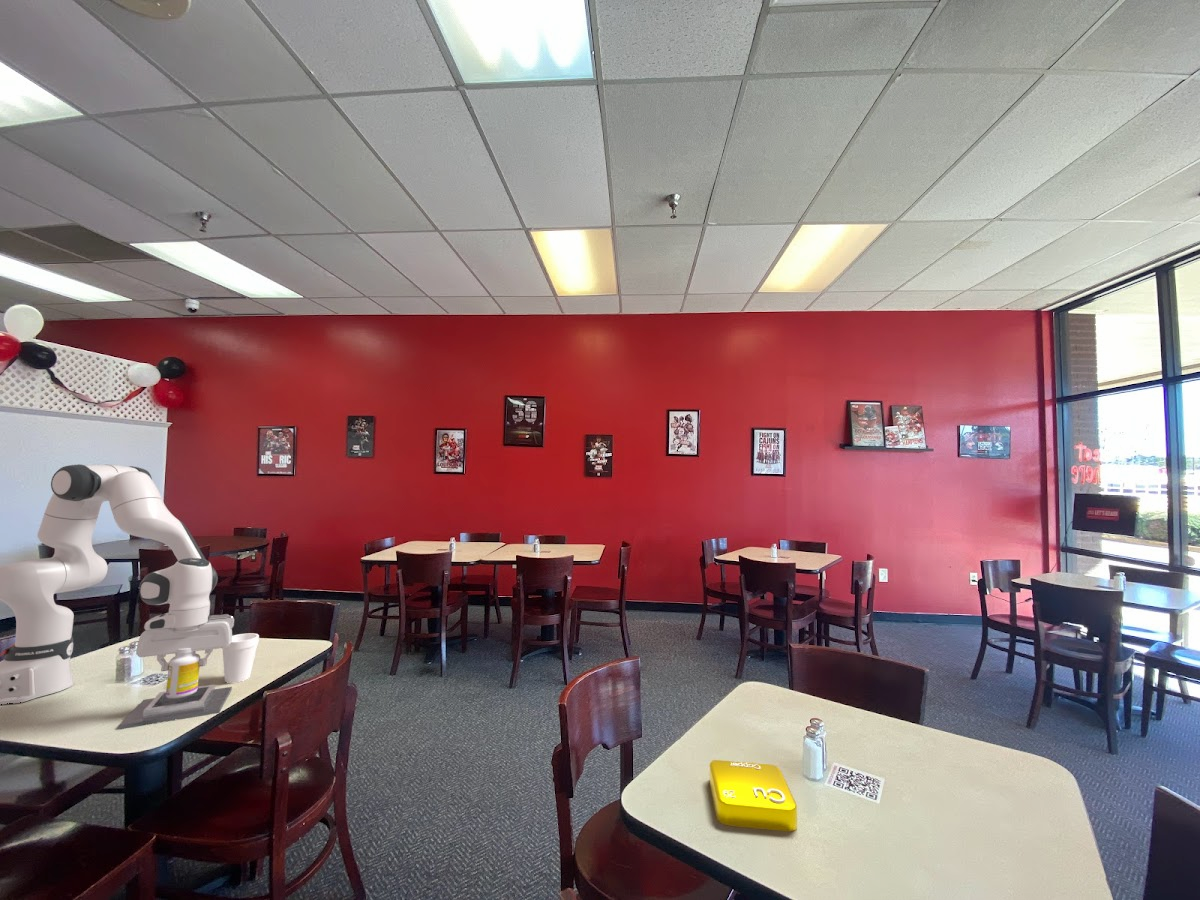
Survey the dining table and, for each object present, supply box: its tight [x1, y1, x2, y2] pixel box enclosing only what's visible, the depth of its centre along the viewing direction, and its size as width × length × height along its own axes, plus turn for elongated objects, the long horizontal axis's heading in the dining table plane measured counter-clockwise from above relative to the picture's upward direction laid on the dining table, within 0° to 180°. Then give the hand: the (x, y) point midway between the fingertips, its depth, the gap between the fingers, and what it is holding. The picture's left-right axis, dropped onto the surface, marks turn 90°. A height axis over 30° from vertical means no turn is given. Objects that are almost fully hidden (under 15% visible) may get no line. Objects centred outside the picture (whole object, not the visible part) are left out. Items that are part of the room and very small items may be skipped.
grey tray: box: [119, 684, 233, 730], centre depth 130 cm, size 20×16×3 cm
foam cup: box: [221, 632, 260, 684], centre depth 150 cm, size 10×9×13 cm
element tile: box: [709, 759, 798, 832], centre depth 95 cm, size 15×15×5 cm
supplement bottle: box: [165, 648, 201, 698], centre depth 131 cm, size 7×7×13 cm
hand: (184, 668), depth 131 cm, fingers closed on supplement bottle, 7 cm apart
